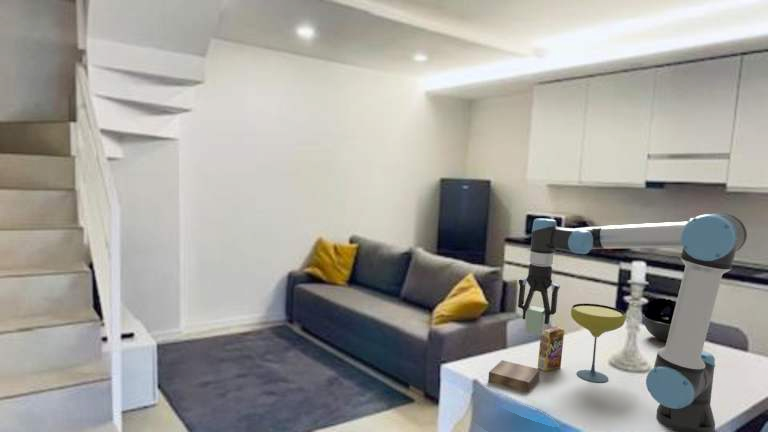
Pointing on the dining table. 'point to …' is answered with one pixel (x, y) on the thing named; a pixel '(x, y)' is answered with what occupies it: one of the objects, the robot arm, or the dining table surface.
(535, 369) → the walnut plinth
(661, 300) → the coal bowl
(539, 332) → the sage block
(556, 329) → the candy box
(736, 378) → the dining table surface
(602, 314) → the cocktail glass
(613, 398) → the dining table surface
